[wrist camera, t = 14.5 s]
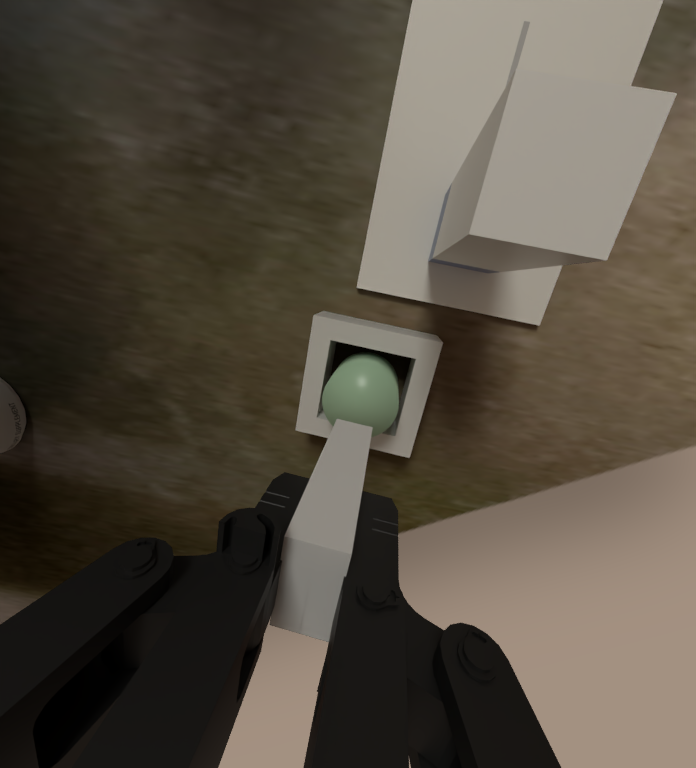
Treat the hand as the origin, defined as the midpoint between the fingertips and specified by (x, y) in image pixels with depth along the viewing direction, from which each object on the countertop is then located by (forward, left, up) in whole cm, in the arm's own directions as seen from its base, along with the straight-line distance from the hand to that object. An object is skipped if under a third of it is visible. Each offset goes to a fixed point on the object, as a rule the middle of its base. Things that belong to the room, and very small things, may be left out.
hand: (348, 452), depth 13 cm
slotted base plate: (-14, +4, -11) cm, 18 cm away
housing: (0, 0, -11) cm, 11 cm away
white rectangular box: (-10, +4, -11) cm, 15 cm away
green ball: (0, 0, -9) cm, 9 cm away
